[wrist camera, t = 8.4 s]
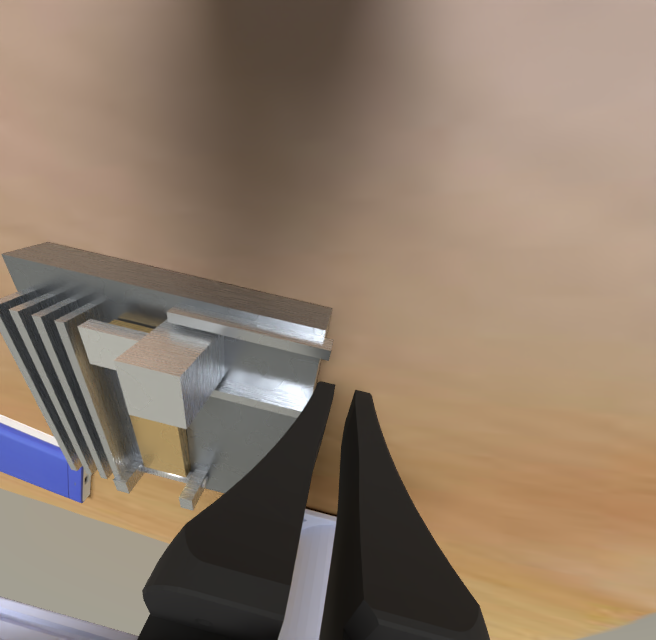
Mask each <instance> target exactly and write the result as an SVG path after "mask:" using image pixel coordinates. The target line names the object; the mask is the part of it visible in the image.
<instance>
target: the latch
mask: <svg viewBox="0 0 656 640" xmlns="http://www.w3.org/2000/svg"><path fill="white" fill-rule="evenodd" d="M78 329H79V332H80V335H81V338H82V341H83V344H84V347H85V350H86V353H87V356H88V359H89V362H90V364H93V365H97V366H101V367H105V368H109V369H113V370H116V371H117V374H118V378H119V381H120V385H121V388H122V392H123V396H124V399H125V403H126V406H127V410H128V413H129V415H132V416H136V417H140V418H144V419H148V420H152V421H156V422H160V423H164V424H168V425H172V426H176V427H179V428H183V429H187V428H188V427H189V425H190V424H191V422H192V421H193V420H194V418H195V417H196V415H197V414H198V412H199V411H200V410H201V408H202V407H203V405H204V404H205V402H206V401H207V400H208V398H209V397H210V395H211V394H212V392H213V391H214V390H215V388H216V387H217V385H218V384H219V382H220V381H221V380H222V378H223V377H224V335H220V334H215V333H211V332H207V331H203V330H199V329H195V328H190V327H186V326H182V325H178V324H174V323H170V322H168V319H167V320H165V321H164V322H163V323H161V324H160V325H159V326H158V327H156V328H155V329H154V330H152V331H151V332H150V333H146V332H142V331H138V330H134V329H130V328H126V327H121V326H117V325H113V324H109V323H105V322H101V321H97V320H93V319H89V320H88V321H86V322H84V323H82V324H80V325H79V326H78Z"/></svg>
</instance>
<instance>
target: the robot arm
mask: <svg viewBox="0 0 656 640" xmlns="http://www.w3.org/2000/svg"><path fill="white" fill-rule="evenodd" d="M334 389H335V385H334V384H329V383H325V382H321V381H320V382H318V383H317V386H316V388H315V390H314V392H313V394H312V396H311V398H310V399H309V401H308V403H307V404H306V406H305V407H304V409H303V410H302V412H301V413H300V415H299V416H298V418H297V419H296V420H295V422H294V423H293V424H292V425H291V427H290V428H289V429H288V430H287V432H286V433H285V434H284V436H283V437H282V438H281V439H280V440H279V441H278V443H277V444H276V445H275V446H274V447H273V448H272V449H271V450H270V451H269V452H268V453H267V455H266V456H265V457H264V458H263V459H262V460H261V461H260V462H259V463H258V464H257V465H256V466H255V467H254V468H253V469H252V470H250V471H249V472H248V473H247V474H246V475H245V476H244V477H243V478H242V479H241V480H240V481H238V482H237V483H236V484H235V485H234V486H233V487H232V488H230V489H229V490H228V491H227V492H226V493H225V494H223V495H222V496H221V497H220V498H219V499H217V500H216V501H215V502H214V503H212V504H211V505H210V506H209V507H207V508H206V509H205V510H203V511H202V512H201V513H200V514H198V515H197V516H196V517H194V518H193V519H192V520H190V521H189V522H188V523H187V524H186V525H185V526H184V527H183V528H182V529H181V531H180V532H179V533H178V534H177V536H176V537H175V538H174V539H173V541H172V542H171V543H170V545H169V546H168V548H167V549H166V551H165V552H164V554H163V555H162V557H161V558H160V560H159V561H158V563H157V565H156V566H155V568H154V570H153V572H152V574H151V576H150V578H149V579H148V581H147V583H146V585H145V587H144V589H143V599H144V601H145V604H146V606H147V608H148V610H149V612H150V615H149V617H148V619H147V621H146V623H145V625H144V627H143V629H142V631H141V633H140V635H139V636H136V635H133V634H129V633H126V632H122V631H119V630H115V629H112V628H108V627H105V626H101V625H98V624H95V623H91V622H88V621H84V620H81V619H77V618H74V617H70V616H66V615H63V614H60V613H56V612H53V611H49V610H46V609H42V608H39V607H35V606H32V605H29V604H25V603H21V602H18V601H15V600H11V599H8V598H4V597H1V596H0V640H490V638H489V634H488V631H487V628H486V624H485V621H484V618H483V615H482V612H481V609H480V606H479V604H478V603H477V602H476V600H475V599H474V597H473V596H472V595H471V593H470V592H469V590H468V589H467V588H466V586H465V585H464V583H463V582H462V581H461V579H460V578H459V576H458V575H457V573H456V572H455V570H454V569H453V568H452V566H451V565H450V563H449V562H448V560H447V558H446V557H445V555H444V554H443V552H442V551H441V549H440V548H439V546H438V545H437V543H436V541H435V540H434V538H433V536H432V535H431V533H430V531H429V530H428V528H427V526H426V525H425V523H424V521H423V520H422V518H421V516H420V515H419V513H418V511H417V509H416V507H415V506H414V504H413V502H412V500H411V498H410V496H409V494H408V492H407V490H406V488H405V486H404V484H403V482H402V480H401V478H400V476H399V474H398V472H397V469H396V467H395V465H394V462H393V460H392V458H391V455H390V453H389V450H388V448H387V445H386V442H385V439H384V437H383V434H382V431H381V428H380V425H379V422H378V418H377V415H376V411H375V408H374V403H373V399H372V395H371V394H370V393H366V392H362V391H358V390H355V393H354V396H353V399H352V402H351V406H350V409H349V412H348V415H347V418H346V421H345V426H344V432H343V439H342V445H341V460H340V478H339V497H338V511H337V517H335V516H332V515H328V514H324V513H320V512H316V511H312V510H309V509H305V508H306V503H307V498H308V493H309V488H310V482H311V477H312V472H313V468H314V465H315V462H316V458H317V455H318V452H319V448H320V445H321V442H322V438H323V434H324V430H325V427H326V423H327V419H328V415H329V412H330V408H331V404H332V400H333V395H334Z"/></svg>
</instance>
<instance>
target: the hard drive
mask: <svg viewBox="0 0 656 640" xmlns="http://www.w3.org/2000/svg"><path fill="white" fill-rule="evenodd" d="M0 471H1V472H3V473H6V474H9V475H11V476H14V477H16V478H19V479H21V480H24V481H26V482H29V483H31V484H34V485H36V486H39V487H41V488H44V489H46V490H49V491H52V492H54V493H57V494H59V495H62V496H64V497H67V498H70V499H72V500H75V501H77V502H80V503H83V502H84V501H85V500H86V498H87V497H88V496H89V495H90V485H91V475H90V474H86V472H85V470H84V468H83V466H82V467H81V468H80V469H79V470H78V471H75V470H71V468H70V466H69V464H68V462H67V460H66V458H65V456H64V455H63V453H62V451H61V449H60V447H59V445H58V443H57V441H56V439H55V437H53V436H51V435H48V434H46V433H44V432H41V431H39V430H36V429H34V428H32V427H29V426H27V425H24V424H22V423H20V422H17V421H15V420H13V419H10V418H8V417H5V416H3V415H1V414H0Z"/></svg>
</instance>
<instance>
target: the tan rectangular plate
mask: <svg viewBox="0 0 656 640" xmlns="http://www.w3.org/2000/svg"><path fill="white" fill-rule="evenodd" d="M109 324H113V325H117V326H121V327H126V328H130V329H134V330H138V331H142V332H146V333H150V332H151V331H152V330H154V329H152V328H148V327H144V326H140V325H136V324H132V323H127V322H123V321H119V320H115V319H114V320H113V321H111V322H109ZM130 419H131V422H132V426H133V429H134V432H135V436H136V439H137V443H138V446H139V450H140V453H141V456H142V460H143V463H144V467H147V468H151V469H155V470H159V471H162V472H166V473H170V474H174V475H178V476H182V477H185V478H186V477H187V475H188V473H189V472H190V470H191V463H190V456H189V449H188V442H187V435H186V429H183V428H179V427H176V426H172V425H168V424H164V423H160V422H156V421H152V420H148V419H144V418H140V417H136V416H132V415H130Z"/></svg>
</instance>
